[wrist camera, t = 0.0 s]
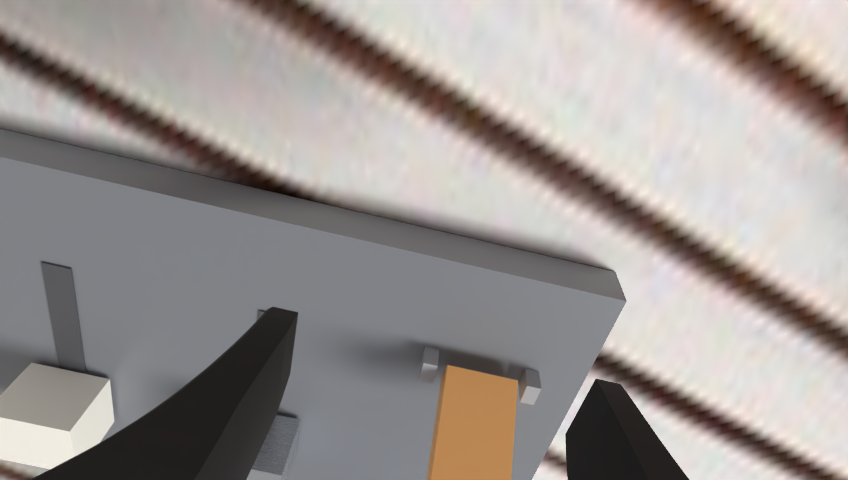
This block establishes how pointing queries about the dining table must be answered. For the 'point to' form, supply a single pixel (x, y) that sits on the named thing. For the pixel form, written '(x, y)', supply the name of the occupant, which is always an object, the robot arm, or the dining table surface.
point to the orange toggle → (473, 427)
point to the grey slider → (277, 451)
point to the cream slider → (53, 415)
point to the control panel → (283, 304)
